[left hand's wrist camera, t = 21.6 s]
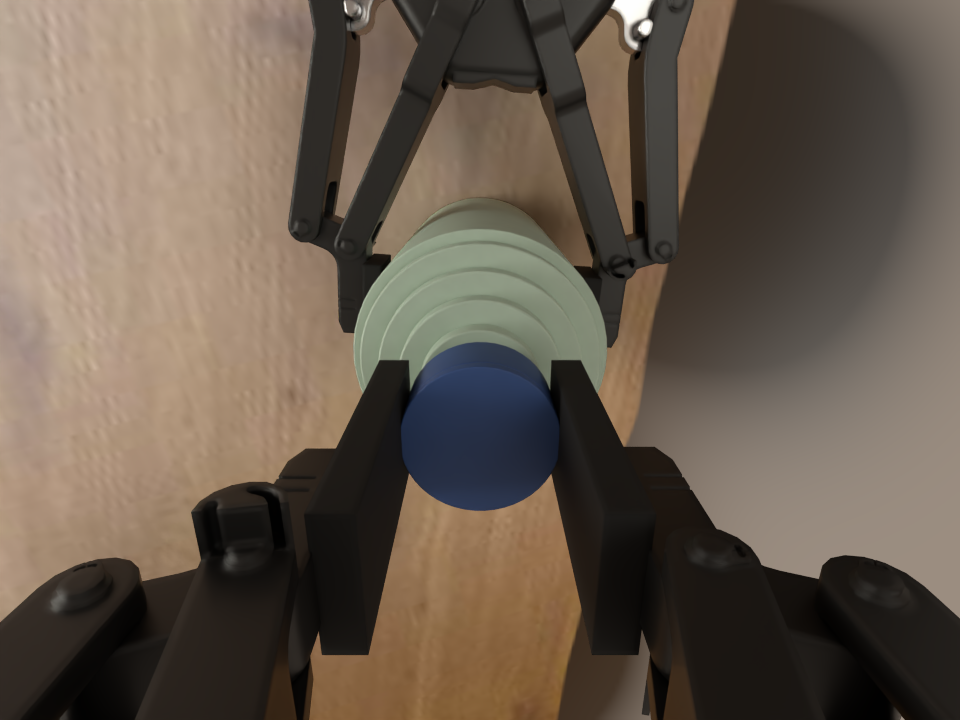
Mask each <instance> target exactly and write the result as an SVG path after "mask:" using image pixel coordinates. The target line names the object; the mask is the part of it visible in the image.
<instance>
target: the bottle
mask: <svg viewBox="0 0 960 720" xmlns="http://www.w3.org/2000/svg"><path fill="white" fill-rule="evenodd" d="M472 342H489V343H496V344H500V345H504V346H507V347H509V348H512V349H514V350H516V351H518V352H519V353H521V354H523V355H524V356H526V357H527V358H528V359H530V360H531V361H532V362H533V363H534V364H535V365H536V366H537V368H538V369H539V370H540V371H541V373H542V374H543V376H544V378H545V379H546V381H547V384H548V386H549V389H550V378H551V360H581V361H582V364H583V366H584V368H585V370H586V372H587V374H588V376H589V378H590V380H591V382H592V384H593V386H594V388H595V390H596V392H597V393H598V391H599V388H600V386H601V383H602V379H603V375H604V372H605V366H606V358H607V337H606V331H605V325H604V320H603V317H602V314H601V311H600V307H599V305H598V303H597V301H596V299H595V297H594V295H593V292H592V291H591V289H590V288H589V286H588V285H587V283H586V282H585V280H584V279H583V277H582V276H581V275H580V274H579V273H578V271H577V270H576V269H575V268H574V267H573V265H572V264H571V263H570V262H569V261H568V260H567V258H566V257H565V256H564V255H563V254H562V252H561V251H560V250H559V249H558V248H557V247H556V245H555V244H554V243H553V242H552V241H551V239H550V238H549V237H548V236H547V235H546V234H545V232H544V231H543V230H542V229H541V228H540V226H539V225H538V224H537V223H536V222H535V221H534V220H533V219H532V218H531V217H530V216H529V215H528V214H526V213H525V212H524V211H522V210H520V209H519V208H517V207H515V206H513V205H511V204H509V203H506V202H503V201H500V200H496V199H490V198H470V199H464V200H460V201H457V202H454V203H451V204H449V205H447V206H445V207H443V208H441V209H440V210H438V211H437V212H435V213H434V214H433V215H431V216H430V217H429V218H428V219H427V220H426V221H425V222H424V223H423V224H422V225H421V227H420V228H419V229H418V230H417V231H416V233H415V234H414V235H413V236H412V237H411V239H410V240H409V241H408V242H407V243H406V244H405V246H404V247H403V248H402V249H401V250H400V252H399V253H398V254H397V255H396V256H395V258H394V259H393V260H392V261H391V262H390V264H389V265H388V266H387V267H386V268H385V269H384V271H383V272H382V273H381V275H380V276H379V277H378V278H377V280H376V281H375V282H374V284H373V285H372V287H371V289H370V290H369V292H368V294H367V296H366V297H365V299H364V302H363V304H362V307H361V309H360V312H359V315H358V319H357V323H356V327H355V334H354V345H353V348H354V363H355V369H356V374H357V378H358V381H359V384H360V387H361V390H362V393H364V391H365V389H366V387H367V385H368V383H369V380H370V378H371V376H372V374H373V372H374V370H375V368H376V366H377V364H378V362H379V360H409V371H410V391H411V388H412V386H413V383H414V381H415V379H416V377H417V376H418V374H419V372H420V371H421V370H422V369H423V367H424V366H425V365H426V364H427V363H428V362H429V361H430V360H431V359H432V358H434V357H435V356H437V355H438V354H439V353H441V352H443V351H445V350H447V349H449V348H452V347H454V346H457V345H461V344H465V343H472Z"/></svg>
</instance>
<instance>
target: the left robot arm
mask: <svg viewBox="0 0 960 720" xmlns="http://www.w3.org/2000/svg"><path fill="white" fill-rule="evenodd" d="M550 392H551V395H552V399H553V402H554V405H555V409H556V412H557V415H558V419H559V423H560V428H559V447H558V460H557V463H556V466H555V467H554V469H553V471H552V473H551V474H552V478H553V483H554V487H555V492H556V496H557V501H558V505H559V510H560V514H561V519H562V523H563V527H564V532H565V536H566V541H567V545H568V550H569V554H570V559H571V563H572V568H573V572H574V577H575V581H576V586H577V590H578V595H579V599H580V604H581V608H582V612H583V617H584V621H585V626H586V630H587V635H588V639H589V644H590V648H591V653H592V655H638V654H639V646H640V638H641V631H643V634H644V636H645V640H646V642H647V645H648V648H649V651H650V659H649V666H648V673H647V680H646V687H645V695H644V702H643V709H642V714H644V715H649V713H650V714H651V720H900V719H901V716H902V717H903V718H904V719H905V720H960V618H959V617H958V616H956V615H955V614H954V613H953V612H952V611H951V610H950V609H949V608H948V607H946V606H945V605H944V604H943V603H942V602H941V601H940V600H939V599H938V598H937V597H935V596H934V595H933V594H932V593H931V592H930V591H929V590H928V589H927V588H926V587H924V586H923V585H922V584H920V583H919V582H918V581H916V580H915V579H913V578H912V577H911V576H909V575H908V574H907V573H905V572H902V571H900V570H898V569H896V568H894V567H892V566H890V565H888V564H886V563H883V562H880V561H877V560H873V559H869V558H866V557H858V556H847V555H844V556H839V557H834V558H830V559H829V560H828V561H827V562H826V563H825V564H824V565H823V566H822V569H821V573H820V577H819V579H816V578H811V577H806V576H802V575H797V574H792V573H788V572H783V571H779V570H775V569H772V568H768V567H765V566H763V565H761V563H760V561H759V559H758V557H757V556H756V554H755V553H754V552H753V550H752V549H751V547H749V546H748V545H747V544H745V543H744V542H743V541H741V540H740V539H739V538H737V537H735V536H733V535H731V534H728V533H726V532H724V531H722V530H718V529H716V528H715V526H714V524H713V523H712V521H711V520H710V518H709V516H708V515H707V513H706V512H705V510H704V509H703V507H702V505H701V504H700V502H699V501H698V499H697V498H696V496H695V494H694V493H693V491H692V490H690V486H689V485H688V483H687V482H686V480H685V479H684V477H682V474H681V472H680V471H679V469H678V467H677V466H676V464H675V463H674V461H673V460H672V459H671V458H670V457H668V456H667V455H665V454H664V453H662V452H661V451H660V450H658V449H657V448H655V447H623V445H622V443H621V441H620V439H619V437H618V435H617V433H616V431H615V429H614V427H613V425H612V422H611V420H610V418H609V416H608V414H607V412H606V410H605V408H604V406H603V404H602V402H601V400H600V398H599V396H598V394H597V392H596V390H595V388H594V386H593V384H592V382H591V380H590V378H589V376H588V374H587V372H586V370H585V368H584V366H583V364H582V361H581V360H551V378H550ZM409 395H410V371H409V360H379V362H378V364H377V366H376V368H375V370H374V372H373V374H372V376H371V378H370V380H369V383H368V385H367V387H366V389H365V391H364V393H363V395H362V397H361V399H360V401H359V403H358V405H357V407H356V409H355V411H354V413H353V415H352V417H351V419H350V421H349V423H348V425H347V427H346V429H345V431H344V433H343V435H342V437H341V440H340V442H339V444H338V446H337V448H336V449H305V450H303V451H302V452H301V453H299V454H298V455H296V456H295V457H294V458H292V459H291V460H289V461H288V462H287V464H286V466H285V467H284V469H283V470H282V472H281V473H280V475H279V479H277V480H276V481H275V483H274V484H272V483H268V482H247V483H242V484H236V485H231V486H229V487H226V488H224V489H221V490H218V491H216V492H214V493H212V494H211V495H209V496H207V497H206V498H204V499H203V500H201V501H200V502H199V503H198V504H197V506H196V507H195V508H194V509H193V510H192V512H191V514H192V519H193V523H194V528H195V533H196V537H197V542H198V547H199V552H200V556H201V561H200V564H199V566H198V568H197V569H193V570H190V571H186V572H183V573H179V574H174V575H170V576H165V577H160V578H156V579H151V580H146V581H142V579H141V575H140V571H139V568H138V567H137V566H136V565H135V564H134V563H133V562H132V561H130V560H125V559H120V558H107V559H97V560H93V561H89V562H87V563H82V564H79V565H76V566H74V567H72V568H70V569H68V570H66V571H64V572H62V573H60V574H58V575H55V576H54V577H53V578H51V579H50V580H49V581H47V582H46V583H44V584H43V585H42V586H40V587H39V588H38V589H36V590H35V591H34V592H33V593H32V594H31V595H30V596H29V597H28V598H27V599H25V600H24V601H23V602H22V603H21V604H20V605H19V606H18V607H17V608H16V609H14V610H13V611H12V612H11V613H10V614H9V615H8V616H7V617H6V618H5V619H3V620H2V621H1V622H0V720H309V715H310V706H311V696H312V687H313V673H312V666H311V659H310V655H311V652H312V649H313V646H314V643H315V640H316V637H317V635H318V632H319V636H320V643H321V651H322V655H368V654H369V650H370V645H371V641H372V636H373V632H374V627H375V623H376V618H377V614H378V610H379V605H380V601H381V596H382V592H383V587H384V583H385V578H386V574H387V569H388V565H389V560H390V556H391V551H392V547H393V542H394V538H395V533H396V529H397V524H398V520H399V516H400V511H401V507H402V502H403V498H404V493H405V489H406V484H407V480H408V475H409V472H408V470H407V468H406V466H405V464H404V461H403V457H402V440H401V422H402V418H403V415H404V411H405V408H406V405H407V401H408V398H409Z"/></svg>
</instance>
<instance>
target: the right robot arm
mask: <svg viewBox="0 0 960 720" xmlns="http://www.w3.org/2000/svg"><path fill="white" fill-rule="evenodd" d="M308 1H309V6H310V12H311V18H312V23H313V29H314V37H313V44H312V52H311V59H310V66H309V74H308V81H307V89H306V96H305V103H304V111H303V118H302V126H301V133H300V140H299V148H298V155H297V162H296V170H295V177H294V185H293V192H292V199H291V207H290V214H289V221H288V228H289V231H290V234H291V235H292V236H293V237H294V238H295V239H296V240H298V241H300V242H309V243H312V244H314V245H317V246H319V247H321V248H324V249H326V250H327V251H329V252H330V253H331V254H332V255H333V256H334V258H335V260H336V262H337V270H338V298H339V299H338V307H339V323H340V325H341V327H342V329H343V332H344V333H355V327H356V323H357V319H358V315H359V312H360V309H361V307H362V304H363V302H364V299H365V297H366V296H367V294H368V292H369V290H370V289H371V287H372V285H373V284H374V282H375V281H376V280H377V278H378V277H379V276H380V275H381V273H382V272H383V271H384V269H385V268H386V267H387V266H388V265H389V264H390V262H391V255H387V254H373V255H372V247H373V246H374V245H375V243H376V242H375V240H376V238H377V236H378V234H379V231H380V229H381V227H382V225H383V223H384V221H385V219H386V216H387V214H388V212H389V210H390V208H391V206H392V203H393V201H394V199H395V197H396V195H397V193H398V191H399V188H400V186H401V184H402V182H403V180H404V178H405V175H406V173H407V171H408V169H409V167H410V165H411V163H412V160H413V158H414V156H415V154H416V152H417V150H418V147H419V145H420V143H421V141H422V139H423V137H424V135H425V132H426V130H427V128H428V126H429V124H430V122H431V119H432V117H433V115H434V113H435V111H436V110H437V108H438V106H439V105H440V103H441V101H442V99H443V96H444V94H445V92H446V90H447V88H448V86H449V84H451V85H453V86H454V87H455V88H457V89H472V90H474V89H479V88H483V87H488V86H492V85H494V86H497V87H500V88H503V89H505V90H508V91H511V92H517V93H532V92H533V91H536V90H537V91H538V94H539V97H540V100H541V104H542V107H543V110H544V112H545V114H546V116H547V118H548V121H549V124H550V127H551V130H552V133H553V136H554V139H555V143H556V146H557V149H558V152H559V155H560V158H561V161H562V165H563V168H564V171H565V174H566V177H567V180H568V183H569V187H570V190H571V193H572V196H573V199H574V202H575V205H576V209H577V212H578V215H579V218H580V221H581V224H582V227H583V231H584V234H585V237H586V240H587V243H588V246H589V249H590V253H591V256H592V259H593V264H592V268H591V267H584V266H574V268H575V269H576V270H577V271H578V273H579V274H580V275H581V276H582V277H583V279H584V280H585V282H586V283H587V285H588V286H589V288H590V289H591V291H592V292H593V295H594V297H595V299H596V301H597V303H598V305H599V307H600V311H601V314H602V317H603V320H604V325H605V331H606V337H607V347H609V348H611V347H612V346H613V344H614V342H615V340H616V339H617V337H618V330H619V323H620V317H621V316H620V315H621V311H622V304H623V298H624V291H625V285H626V281H627V280H628V279H629V278H631V277H632V276H633V275H634V273H635V272H636V269H639V268H642V267H645V266H649V265H652V264H655V263H658V264H666V263H669V262H671V261H672V260H673V259H674V258H675V257H676V255H677V254H678V249H679V210H678V84H677V57H678V54H679V51H680V47H681V44H682V41H683V37H684V34H685V31H686V28H687V24H688V21H689V18H690V15H691V11H692V8H693V4H694V0H392V1H393V3H394V5H395V6H396V8H397V10H398V11H399V13H400V15H401V16H402V18H403V20H404V21H405V23H406V25H407V26H408V28H409V30H410V31H411V33H412V35H413V37H414V38H415V40H416V42H417V43H418V46H417V49H416V51H415V53H414V55H413V58H412V60H411V62H410V65H409V67H408V69H407V71H406V74H405V76H404V79H403V82H402V87H401V91H400V93H399V95H398V98H397V100H396V102H395V105H394V107H393V109H392V111H391V114H390V116H389V118H388V121H387V123H386V125H385V127H384V130H383V132H382V134H381V136H380V139H379V141H378V143H377V146H376V148H375V150H374V152H373V155H372V157H371V159H370V161H369V164H368V166H367V168H366V171H365V173H364V175H363V177H362V180H361V182H360V184H359V186H358V189H357V191H356V193H355V196H354V198H353V200H352V202H351V205H350V207H349V209H348V212H347V214H346V216H345V218H344V219H343V218H341V217H339V216H336V215H335V210H336V204H337V198H338V192H339V185H340V179H341V173H342V167H343V161H344V155H345V149H346V142H347V136H348V130H349V124H350V118H351V112H352V106H353V99H354V93H355V87H356V81H357V75H358V69H359V60H360V36H361V35H365V34H367V33H369V32H370V31H371V30H372V28H373V26H374V23H375V14H376V10H377V8H378V6H379V5H380V4H381V3H382V2H383V1H385V0H308ZM605 15H609V16H611V17H612V18H613V19H614V20H615V21H616V23H617V24H618V28H619V44H620V47H621V48H622V50H623V51H625V52H626V53H628V54H631V56H630V61H629V70H628V102H629V130H630V158H631V186H632V214H633V234H629V235H626V236H625V233H624V229H623V226H622V222H621V219H620V216H619V212H618V209H617V205H616V202H615V199H614V195H613V192H612V188H611V185H610V182H609V178H608V175H607V171H606V168H605V165H604V161H603V158H602V154H601V151H600V148H599V144H598V141H597V137H596V134H595V130H594V127H593V124H592V120H591V117H590V113H589V110H588V107H587V102H586V92H585V87H584V83H583V80H582V76H581V73H580V70H579V66H578V63H577V59H576V56H575V53H576V52H577V51H578V50H579V48H580V47H581V46H582V44H583V43H584V42H585V41H586V39H587V38H588V37H589V35H590V34H591V33H592V32H593V30H594V29H595V28H596V26H597V25H598V24H599V23H600V21H601V20H602V19H603V17H604V16H605Z"/></svg>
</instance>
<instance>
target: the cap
mask: <svg viewBox="0 0 960 720" xmlns="http://www.w3.org/2000/svg"><path fill="white" fill-rule="evenodd" d="M559 428H560V423H559V419H558V415H557V412H556V409H555V405H554V402H553V399H552V395H551V392H550V389H549V386H548V384H547V381H546V379H545V378H544V376H543V374H542V373H541V371H540V370H539V369H538V368H537V366H536V365H535V364H534V363H533V362H532V361H531V360H530V359H528V358H527V357H526V356H524V355H523V354H521V353H519V352H518V351H516V350H514V349H512V348H509V347H507V346H504V345H500V344H496V343H489V342H472V343H465V344H461V345H457V346H454V347H452V348H449V349H447V350H445V351H443V352H441V353H439V354H438V355H437V356H435V357H434V358H432V359H431V360H430V361H429V362H428V363H427V364H426V365H425V366H424V367H423V369H422V370H421V371H420V372H419V374H418V376H417V377H416V379H415V381H414V383H413V386H412V388H411V391H410V395H409V398H408V401H407V405H406V408H405V411H404V415H403V418H402V422H401V440H402V457H403V461H404V464H405V466H406V468H407V470H408V472H409V473H410V475H411V476H412V478H413V479H414V480H415V482H416V483H417V484H418V485H419V486H420V487H421V488H422V489H423V490H424V491H426V492H427V493H428V494H429V495H431V496H432V497H434V498H435V499H437V500H439V501H441V502H443V503H445V504H448V505H451V506H453V507H457V508H461V509H466V510H474V511H486V510H495V509H500V508H504V507H507V506H510V505H513V504H516V503H518V502H520V501H522V500H524V499H525V498H527V497H528V496H530V495H531V494H533V493H534V492H535V491H536V490H538V489H539V488H540V487H541V486H542V485H543V484H544V483H545V481H546V480H547V479H548V477H549V476H550V475H551V473H552V471H553V469H554V467H555V466H556V463H557V460H558V447H559Z"/></svg>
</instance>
